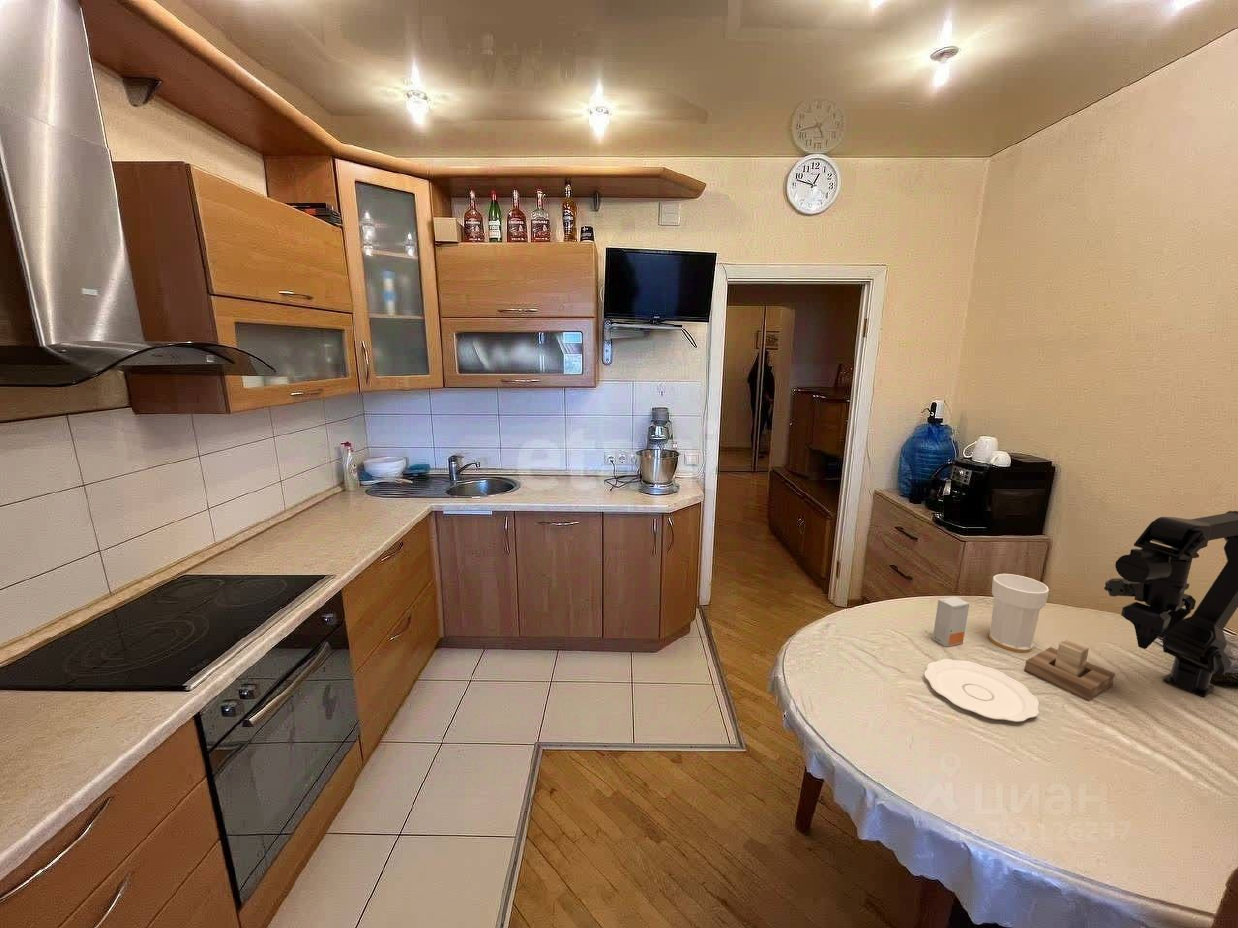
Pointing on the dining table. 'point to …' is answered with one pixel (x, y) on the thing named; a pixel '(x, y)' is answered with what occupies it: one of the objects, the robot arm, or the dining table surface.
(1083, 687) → the socket block
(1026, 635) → the cup
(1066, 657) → the maple peg
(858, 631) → the dining table surface
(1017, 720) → the plate
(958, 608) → the skincare box
